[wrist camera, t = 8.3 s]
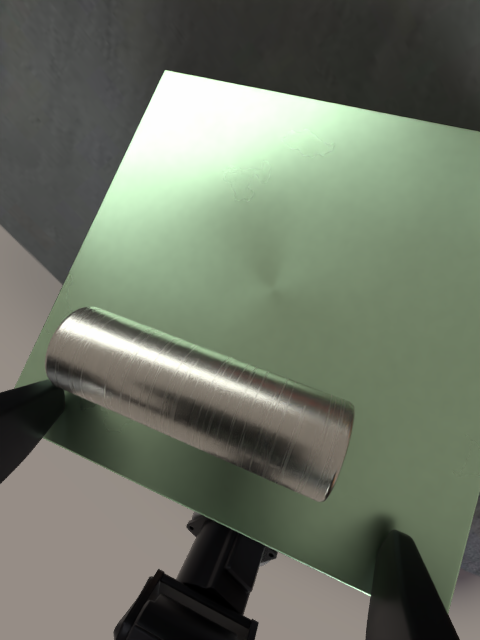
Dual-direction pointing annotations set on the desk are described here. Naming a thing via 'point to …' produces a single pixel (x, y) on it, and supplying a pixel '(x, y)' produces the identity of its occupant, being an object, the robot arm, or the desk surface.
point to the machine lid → (283, 325)
